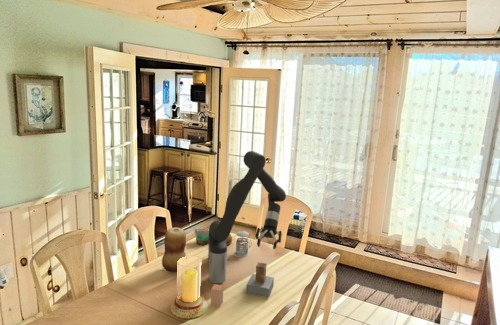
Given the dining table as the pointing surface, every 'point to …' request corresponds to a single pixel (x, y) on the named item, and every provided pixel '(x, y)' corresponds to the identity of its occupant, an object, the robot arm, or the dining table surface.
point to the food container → (202, 236)
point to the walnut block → (260, 273)
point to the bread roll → (229, 239)
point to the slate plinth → (260, 286)
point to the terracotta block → (217, 295)
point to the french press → (244, 246)
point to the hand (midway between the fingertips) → (266, 247)
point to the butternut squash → (173, 248)
